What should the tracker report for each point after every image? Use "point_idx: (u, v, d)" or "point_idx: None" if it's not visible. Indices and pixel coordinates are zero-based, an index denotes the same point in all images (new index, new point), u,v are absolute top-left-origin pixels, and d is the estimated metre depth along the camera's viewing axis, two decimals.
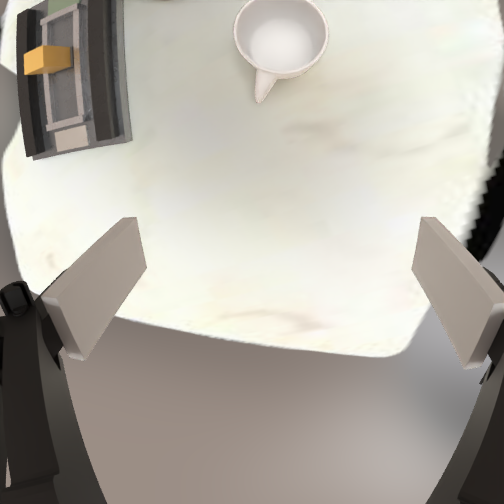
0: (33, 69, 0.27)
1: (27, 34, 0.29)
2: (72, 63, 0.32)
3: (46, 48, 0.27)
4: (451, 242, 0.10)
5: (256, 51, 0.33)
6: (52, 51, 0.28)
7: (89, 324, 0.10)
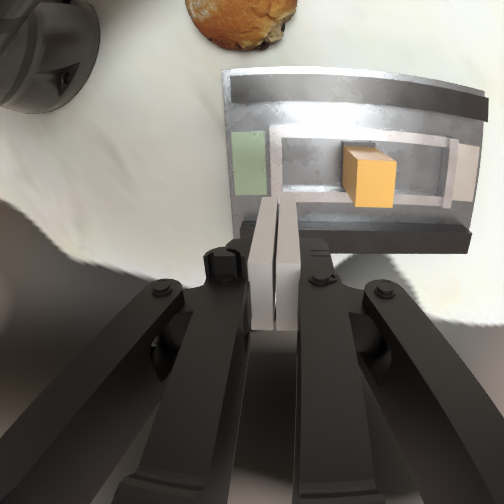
0: (392, 185, 0.22)
1: None
2: (371, 144, 0.26)
3: (360, 157, 0.22)
4: (286, 215, 0.13)
5: None
6: (363, 154, 0.23)
7: None
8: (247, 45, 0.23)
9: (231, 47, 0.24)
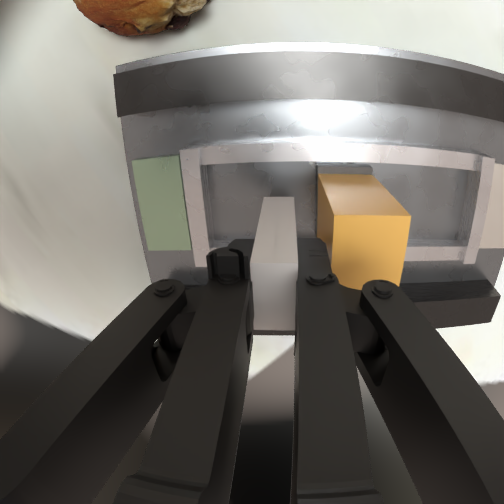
0: (399, 259, 0.12)
1: None
2: (366, 169, 0.16)
3: (342, 207, 0.12)
4: (284, 215, 0.13)
5: None
6: (347, 197, 0.13)
7: None
8: (146, 25, 0.13)
9: (129, 32, 0.14)
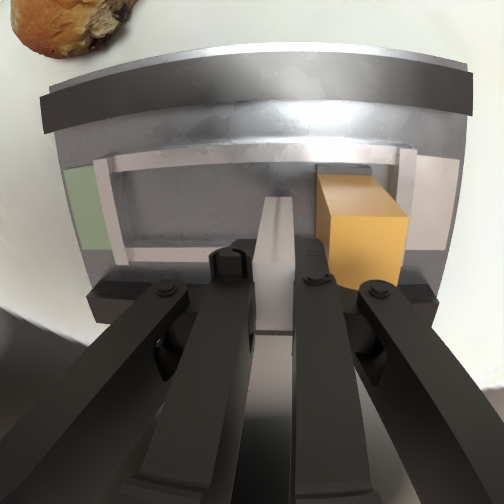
0: (397, 260, 0.12)
1: None
2: (365, 169, 0.16)
3: (339, 208, 0.12)
4: (282, 215, 0.13)
5: None
6: (345, 198, 0.13)
7: None
8: (68, 50, 0.14)
9: (59, 56, 0.15)
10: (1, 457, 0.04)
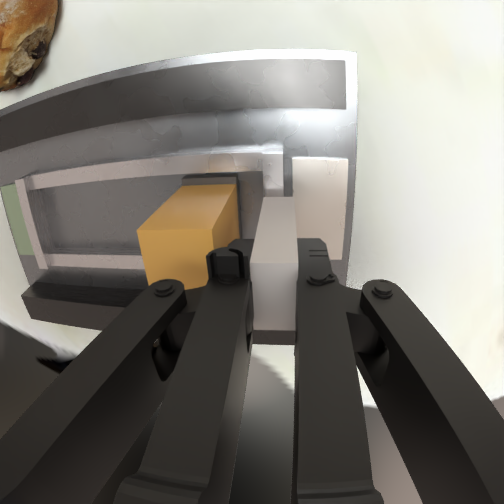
0: None
1: (60, 299, 0.21)
2: (229, 178, 0.17)
3: (154, 221, 0.12)
4: (285, 215, 0.13)
5: None
6: (173, 211, 0.13)
7: None
8: None
9: None
10: (0, 457, 0.04)
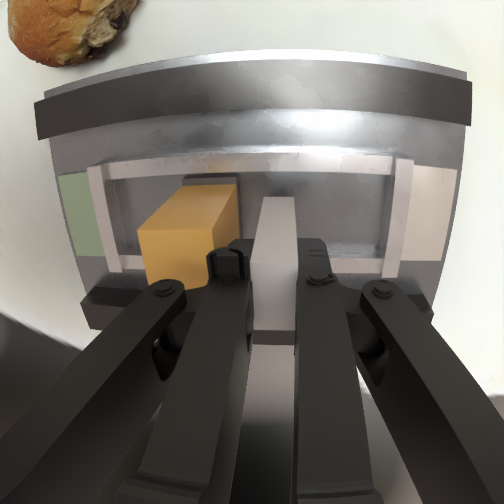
0: None
1: None
2: (229, 178, 0.17)
3: (154, 222, 0.12)
4: (284, 215, 0.13)
5: None
6: (173, 211, 0.13)
7: None
8: (65, 59, 0.14)
9: (57, 65, 0.15)
10: (0, 457, 0.04)
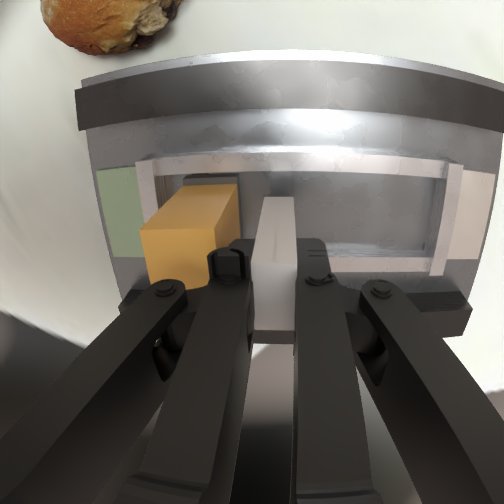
0: None
1: None
2: (230, 178, 0.17)
3: (156, 221, 0.13)
4: (284, 215, 0.13)
5: None
6: (174, 210, 0.14)
7: None
8: (110, 46, 0.14)
9: (97, 52, 0.15)
10: (0, 457, 0.04)
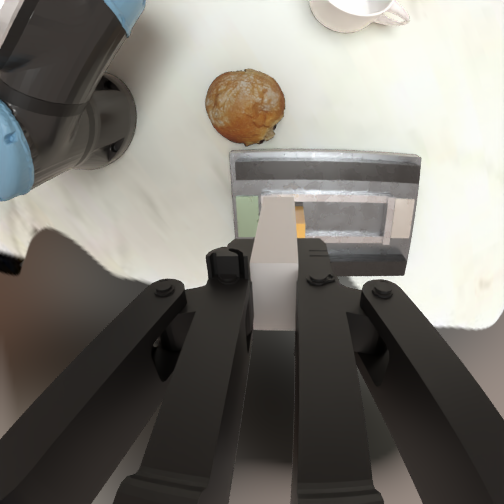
0: None
1: None
2: (300, 204, 0.42)
3: None
4: (285, 215, 0.13)
5: None
6: None
7: None
8: (250, 144, 0.39)
9: (239, 142, 0.40)
10: (0, 457, 0.04)
